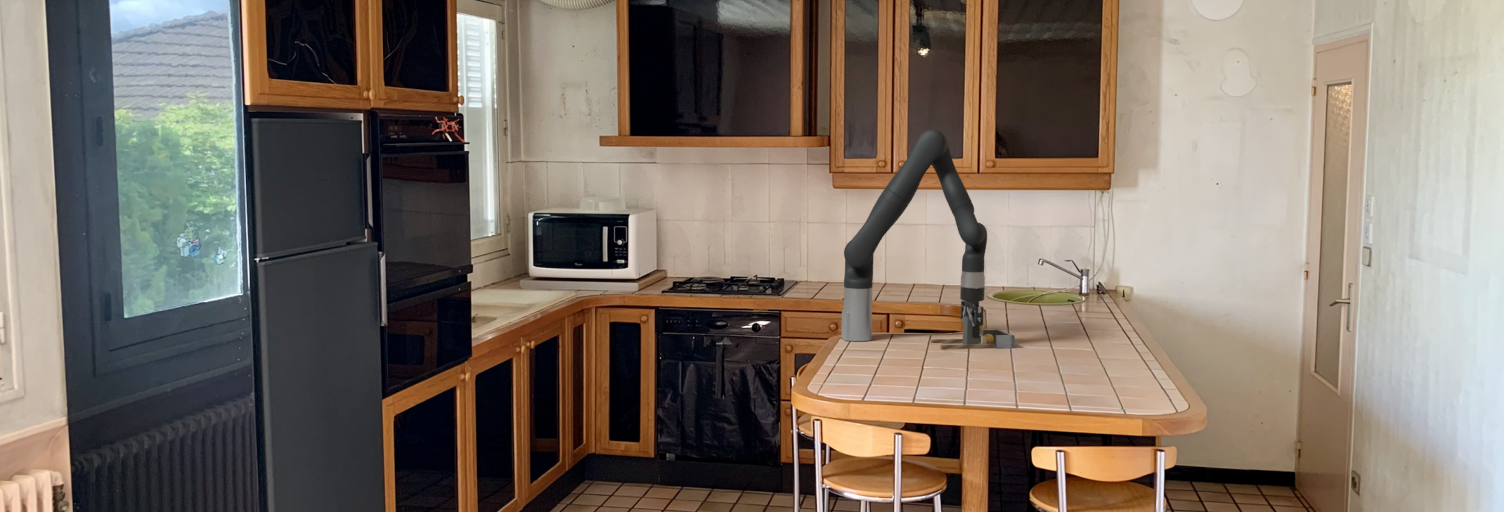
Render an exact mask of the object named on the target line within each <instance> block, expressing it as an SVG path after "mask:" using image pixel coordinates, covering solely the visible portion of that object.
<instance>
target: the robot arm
mask: <svg viewBox="0 0 1504 512" xmlns="http://www.w3.org/2000/svg"><path fill="white" fill-rule="evenodd" d="M931 166H932V168H933V170H934V171H935V174H936V175H937V178H938V181H939V183H940V186H941V189H942V193H943V195H944V198H945V201H946V202H947V205H948V207H949V210H950V212H951V213H952V215H953V217H954V221H955V225H956V228H957V232H958V234H959V237H960V239H961V240H962V242H964V244H965V248H964V249H965V250H964V253H963V255H962V258H961V275H960V292H959V293H960V294H959V295H960V296H959V297H960V300H961V301H960V320H961V321H962V322H963V316H968V317H969V318H970V320H971V321H972V325H973V327H972V338H979V337H980V326H981V325H982V326H983V325H984V306H980V302H983V301H984V300H985V291H986V290H985V287H986V286H985V285H986V282H985V279H986V277H985V254H986V249H987V243H988V229H987V228H986V227H985V225H984V224H983V223H981V222H978V220H977V217H976V215H975V207H974V204H973V202H972V199H971V197H970V195H969V193H968V191H967V189H966V186H965V185H964V183H963V181H962V178H961V177H960V175H959V173H958V171H957V168H956V166H955V164H954V161H953V158H952V155H951V150H950V146H949V140H948V137H947V135H945V133H944V132H942V131H940V130H939V129H936V128H928V129H926V130H924V131H923V132H921V133H920V135H918V138H917V140H916V142H915V144H914V146H913V148H912V149H911V151H910V153H909V155H908V156H907V158H906V160H905V162H904V163H902V165H901V167H899V169H898V170H897V171H896V173H895V174H894V175H893V177H892V178H891V180H889V182H888V183H887V184H886V186H885V188H884V189H883V191H882V192H881V194H880V195H879V196H878V198H877V200H876V201H875V203H874V205H873V207H872V209H871V211H870V212H869V215H868V217H867V218H866V220H865V222H864V224H863V225H862V227H861V228H860V229H859V230H858V232H857V233H856V234H855V235H854V237H852V238H851V240H849V242H847V243H846V245H845V246H844V251H843V256H844V276H843V277H844V278H843V309H841V339H843V340H844V341H845V342H846V341H847V342H849V341H850V342H868V341H869V342H870V341H871V340H872V335H873V334H872V331H873V330H872V329H873V328H872V325H873V323H872V322H873V321H872V320H873V281H874V254H875V252H876V249H877V248H878V245H879V244H880V242H881V241H882V239H883V238H884V236H885V235H886V234H887V233H888V231H889V230H890V229H891V228H892V227H893V226H894V225H895V223H896V222H897V221H899V219H900V217H901V216H902V215H903V214H904V213H905V211H906V209H907V208H908V206H909V205H910V203H912V200H913V198H914V196H915V195H916V194H917V192H918V191H917V190H918V189H919V186H920V184H921V181H922V180H923V177H924V176H925V174H926V173H927V171H928V169H929V168H930V167H931ZM974 320H975V321H974ZM977 321H978V322H977Z"/></svg>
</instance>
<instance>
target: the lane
mask: <svg viewBox="0 0 1504 512" xmlns="http://www.w3.org/2000/svg"><path fill="white" fill-rule="evenodd" d="M929 342H931V343H943V344H939V345H940V346H939V349H940V348H941V349H940V350H962V349H963V350H965V349H966V350H971V349H976V350H977V349H995V343H993V344H963V338H941V339H940V338H939V339H938V338H933V339H931V338H930V340H929ZM931 343H930V344H931Z"/></svg>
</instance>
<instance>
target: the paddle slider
mask: <svg viewBox="0 0 1504 512" xmlns="http://www.w3.org/2000/svg"><path fill="white" fill-rule="evenodd" d="M974 321H975V320H974ZM977 322H978V321H977ZM972 327H973V325H972V321H971V320H970V318H969V317H968V316H963V321H962V339H963V343H962V344H987V337H985V336H983V335H981V334H980V337H979V338H972Z"/></svg>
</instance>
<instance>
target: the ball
mask: <svg viewBox="0 0 1504 512" xmlns="http://www.w3.org/2000/svg"><path fill="white" fill-rule="evenodd" d="M984 336H985V337H987V344H994V343H995V342H994V337H993V336H992V335H991V334H986V335H984Z"/></svg>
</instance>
